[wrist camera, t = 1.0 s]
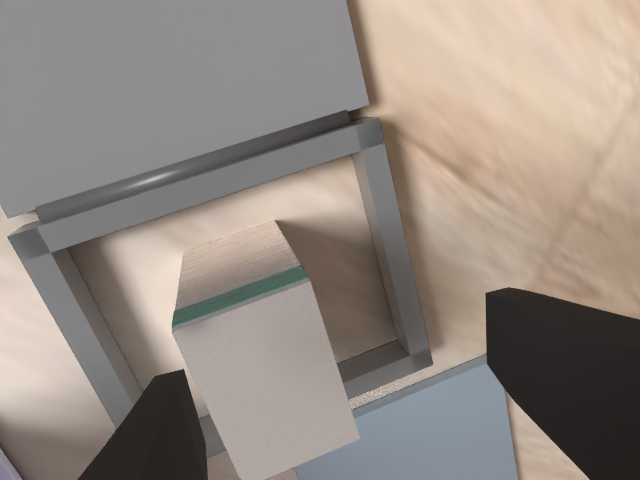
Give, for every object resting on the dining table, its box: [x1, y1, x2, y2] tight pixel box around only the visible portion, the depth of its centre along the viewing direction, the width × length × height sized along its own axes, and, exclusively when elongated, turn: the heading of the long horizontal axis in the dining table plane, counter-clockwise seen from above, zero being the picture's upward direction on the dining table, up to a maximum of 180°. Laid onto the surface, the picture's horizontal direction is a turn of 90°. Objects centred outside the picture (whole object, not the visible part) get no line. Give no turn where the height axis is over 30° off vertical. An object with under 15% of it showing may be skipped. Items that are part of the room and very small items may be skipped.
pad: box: [294, 354, 518, 480], centre depth 25 cm, size 12×12×1 cm
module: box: [172, 220, 360, 480], centre depth 16 cm, size 4×6×7 cm, turn 16°
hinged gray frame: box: [0, 0, 433, 458], centre depth 17 cm, size 14×24×2 cm, turn 16°
